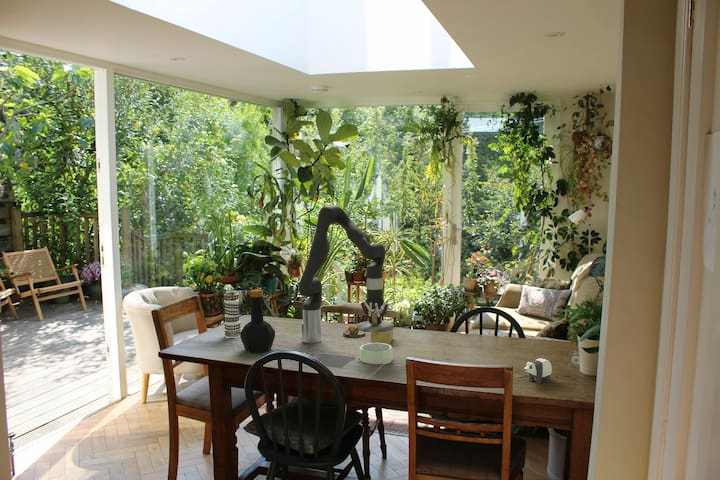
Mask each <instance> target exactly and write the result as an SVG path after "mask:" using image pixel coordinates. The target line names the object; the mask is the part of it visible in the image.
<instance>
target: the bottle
mask: <svg viewBox="0 0 720 480" xmlns="http://www.w3.org/2000/svg"><path fill="white" fill-rule="evenodd" d="M249 291H250V296H249V303H250V304H251V307H250V321H249V322H247V323H246V324H245V325H244V326H243V328H242V329H241V331H240V332H241V333H240V337H239V338H240V341H241V343H242V345H243V347H244V350H245V351H246V350H247V351H246V352H248V351H249V352H256V353H255V354H260V352H261V353H267V352H269V351H270V350H271V349H272V348H273V347H272V346H273V343H274V342H275V338H276V331H275V329H274V328H273V326H272V324H270V323H269V322H267V321H266V320H264V309H263V304H262V303H264V296H262V295H263V290H262V289H251V290H249ZM268 350H269V351H268ZM266 351H267V352H266ZM249 352H248V353H249Z"/></svg>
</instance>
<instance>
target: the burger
mask: <svg viewBox="0 0 720 480" xmlns="http://www.w3.org/2000/svg"><path fill="white" fill-rule="evenodd" d="M365 334H366V332H364V331H360V330H358V329H357V325H356V324H349V326H348V328H347V330H344V331H343V332H342V336H343V337H345V338H347V339H348V338H350V339H358V338H359V339H360V338H363V337H364V335H365Z"/></svg>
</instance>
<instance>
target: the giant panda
mask: <svg viewBox="0 0 720 480" xmlns="http://www.w3.org/2000/svg"><path fill="white" fill-rule="evenodd" d="M523 371H525V372H526V373H528V377H529V378H528V382H531V383H532V382H535V385H540V384H541V383H542V380H543V379H544V380H543V381H546V382H547V381H550V380H551V376H552V371H553V369H552V363H551V362H550V360H548V359H545V358H540V357H539V358H537V359H535V360H532V361H531V360H530V359H529V360H528V362H525V364H524V368H523ZM535 379H536V380H535Z"/></svg>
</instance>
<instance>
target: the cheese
mask: <svg viewBox="0 0 720 480" xmlns="http://www.w3.org/2000/svg"><path fill="white" fill-rule="evenodd" d="M385 321H386V322H390V323H392V324H393V325H394V321H393V320H389V319H388V320H385ZM393 337H394V328H393V329H392V330H390V331H386V332H370V343H385V344H388V345H391V343H392V341H393V339H394V338H393Z"/></svg>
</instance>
